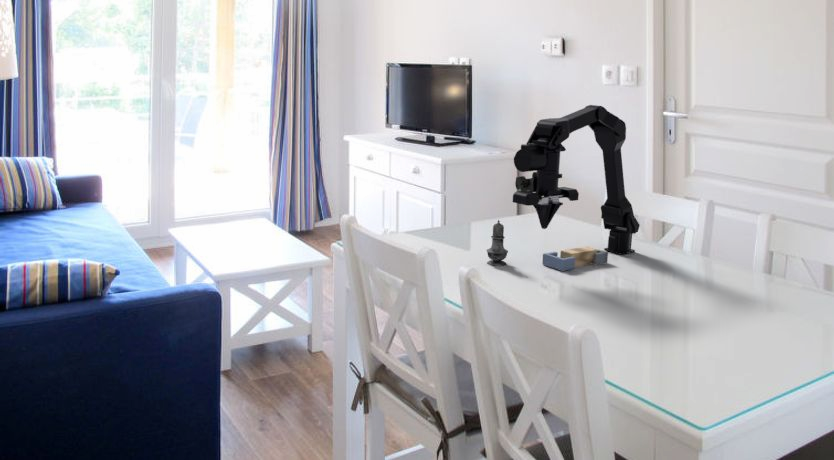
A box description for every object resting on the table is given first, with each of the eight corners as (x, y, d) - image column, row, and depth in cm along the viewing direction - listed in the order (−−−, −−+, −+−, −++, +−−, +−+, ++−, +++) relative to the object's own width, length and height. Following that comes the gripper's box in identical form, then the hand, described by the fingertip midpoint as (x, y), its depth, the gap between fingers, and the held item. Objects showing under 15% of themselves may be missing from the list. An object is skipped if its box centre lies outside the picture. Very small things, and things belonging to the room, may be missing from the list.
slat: (586, 260, 246) (587, 246, 245) (596, 263, 243) (597, 249, 242) (559, 264, 240) (560, 250, 239) (570, 268, 237) (571, 253, 236)
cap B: (554, 262, 241) (555, 251, 240) (574, 268, 235) (575, 257, 234) (542, 264, 238) (543, 253, 238) (562, 270, 233) (563, 259, 232)
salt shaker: (506, 267, 236) (508, 223, 233) (484, 265, 237) (486, 221, 234) (508, 261, 241) (510, 218, 239) (487, 260, 242) (489, 217, 240)
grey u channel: (586, 257, 248) (587, 246, 248) (607, 262, 243) (607, 252, 242) (575, 259, 246) (576, 248, 245) (595, 265, 240) (596, 254, 239)
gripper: (551, 163, 239) (547, 219, 242) (499, 167, 228) (496, 226, 232) (581, 168, 230) (577, 227, 234) (529, 173, 220) (526, 234, 223)
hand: (544, 228), depth 231 cm, fingers closed
